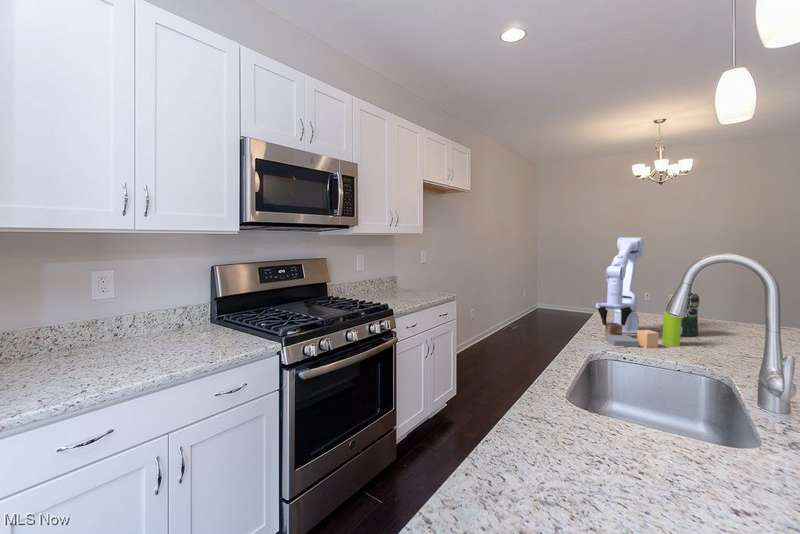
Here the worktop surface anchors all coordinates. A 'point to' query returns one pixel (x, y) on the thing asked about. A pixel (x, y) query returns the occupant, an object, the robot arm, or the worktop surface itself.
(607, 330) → the walnut cube
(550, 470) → the worktop surface
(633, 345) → the gray slab
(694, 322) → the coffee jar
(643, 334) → the orange faceted block
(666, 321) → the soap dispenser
